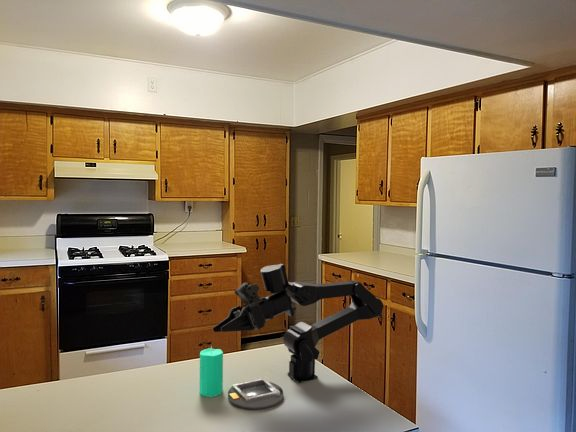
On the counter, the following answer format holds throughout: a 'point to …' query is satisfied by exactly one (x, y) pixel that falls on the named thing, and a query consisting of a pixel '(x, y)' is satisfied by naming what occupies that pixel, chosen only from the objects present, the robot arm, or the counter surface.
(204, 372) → the candle
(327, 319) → the robot arm
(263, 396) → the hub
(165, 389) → the counter surface
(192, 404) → the counter surface
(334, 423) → the counter surface
